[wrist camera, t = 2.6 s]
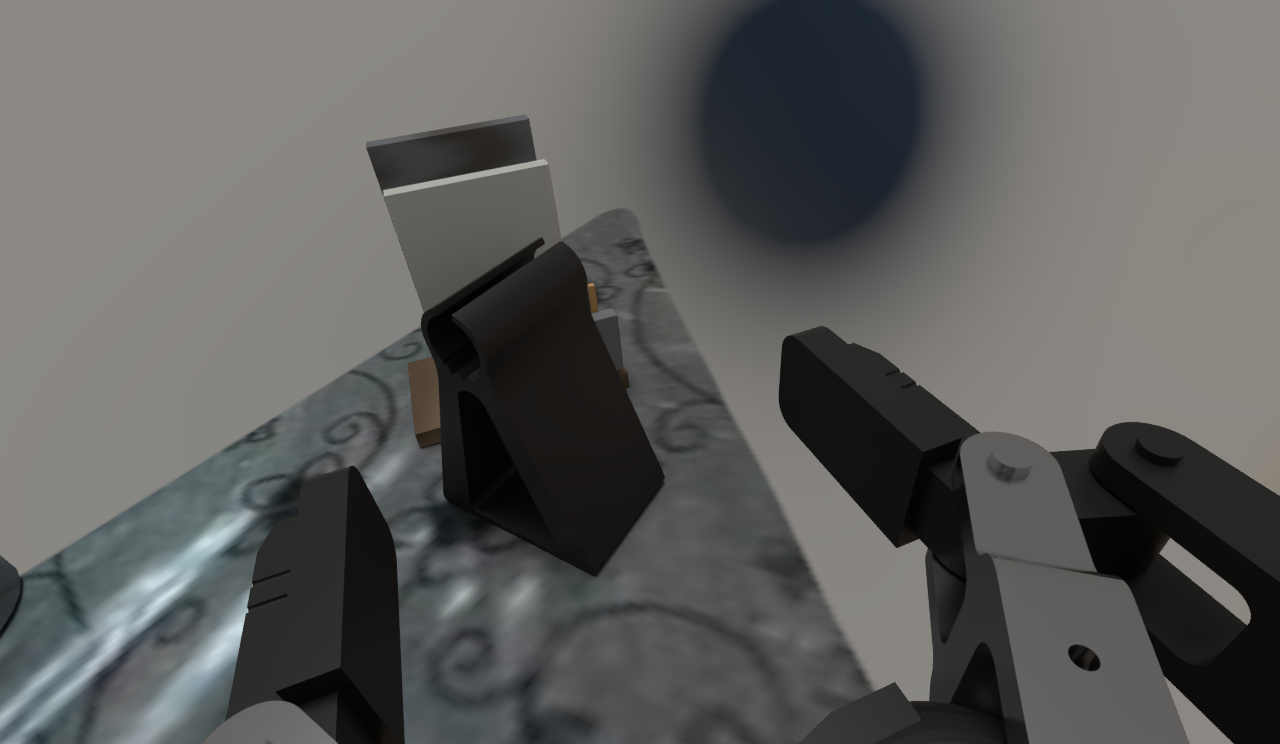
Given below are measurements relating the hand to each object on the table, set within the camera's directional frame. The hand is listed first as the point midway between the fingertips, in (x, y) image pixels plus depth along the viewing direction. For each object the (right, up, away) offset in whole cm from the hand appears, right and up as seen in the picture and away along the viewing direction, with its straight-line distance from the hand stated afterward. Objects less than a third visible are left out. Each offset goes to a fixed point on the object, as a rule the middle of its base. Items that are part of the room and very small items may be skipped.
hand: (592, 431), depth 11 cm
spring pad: (-5, 0, +22) cm, 23 cm away
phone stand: (-3, -5, +18) cm, 19 cm away
